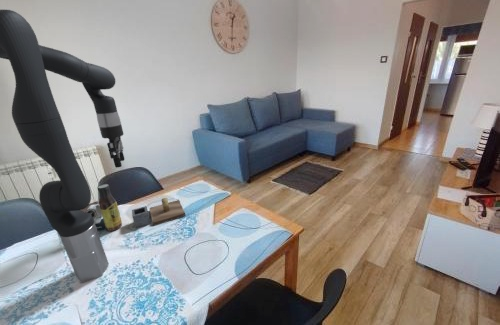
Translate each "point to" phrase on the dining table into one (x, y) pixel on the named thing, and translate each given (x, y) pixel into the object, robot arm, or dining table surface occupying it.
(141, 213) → the grey hollow cube
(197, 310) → the dining table surface
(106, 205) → the sauce bottle
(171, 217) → the post board
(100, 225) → the watch
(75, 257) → the robot arm
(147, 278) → the dining table surface
